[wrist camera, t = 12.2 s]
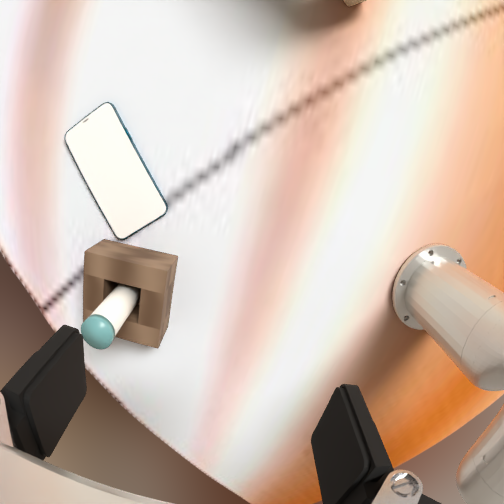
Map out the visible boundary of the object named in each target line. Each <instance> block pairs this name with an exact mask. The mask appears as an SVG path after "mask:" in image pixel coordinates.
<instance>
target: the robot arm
mask: <svg viewBox="0 0 504 504" xmlns="http://www.w3.org/2000/svg"><path fill="white" fill-rule="evenodd" d="M392 301H393V307H394V310H395V313H396V314H397V316H398V317H399V319H400V320H401V321H402V322H403V323H404V324H405V325H407V326H408V327H410V328H413V329H418V330H425V331H426V332H427V333H428V334H429V335H430V336H431V337H432V338H433V339H434V341H435V342H436V343H437V344H438V345H439V346H440V347H441V348H442V350H443V351H444V352H445V353H446V354H447V355H448V356H449V358H450V359H451V360H452V361H453V362H454V363H455V364H456V366H457V367H458V368H459V369H460V370H461V371H462V373H463V374H464V375H465V376H466V377H467V378H468V379H469V381H470V382H471V383H473V384H474V385H475V386H477V387H478V388H480V389H483V390H488V391H500V390H504V292H502V291H500V290H499V289H497V288H496V287H494V286H493V285H491V284H490V283H488V282H486V281H485V280H483V279H482V278H480V277H478V276H477V275H475V274H473V273H472V272H470V271H469V270H467V268H466V264H465V262H464V259H463V258H462V256H461V255H460V253H459V252H457V251H456V250H455V249H453V248H451V247H450V246H447V245H444V244H432V245H428V246H425V247H423V248H421V249H419V250H418V251H416V252H415V253H413V254H412V255H411V256H410V257H409V258H408V259H407V260H406V262H405V263H404V264H403V265H402V267H401V269H400V271H399V272H398V274H397V277H396V279H395V282H394V286H393V293H392ZM86 388H87V387H86V377H85V364H84V349H83V336H82V334H79V330H78V329H76V328H73V327H70V326H67V325H63V326H62V327H61V328H60V329H59V330H58V331H57V332H56V333H55V334H54V335H53V336H52V337H51V338H50V339H49V340H48V341H47V342H46V343H45V344H44V345H43V346H42V348H41V349H40V350H39V351H37V352H36V353H34V354H33V355H32V356H31V358H30V359H29V360H28V361H27V362H26V363H25V364H24V365H23V366H22V367H21V368H20V369H19V370H18V372H17V373H16V374H15V375H14V376H13V377H12V378H11V380H10V381H9V382H8V383H7V384H6V385H5V386H4V387H3V389H2V390H1V391H0V504H173V503H168V502H164V501H160V500H155V499H151V498H147V497H144V496H140V495H136V494H133V493H129V492H126V491H122V490H119V489H115V488H112V487H109V486H107V485H104V484H101V483H98V482H95V481H92V480H90V479H87V478H84V477H82V476H79V475H76V474H74V473H71V472H69V471H66V470H64V469H61V468H59V467H57V466H54V465H52V464H50V463H47V462H45V461H43V460H44V459H45V457H46V456H47V457H50V455H51V454H52V452H53V451H54V449H55V447H56V445H57V443H58V441H59V440H60V438H61V436H62V434H63V433H64V431H65V429H66V427H67V426H68V424H69V422H70V420H71V419H72V417H73V415H74V413H75V412H76V410H77V409H78V407H79V405H80V403H81V402H82V400H83V399H84V397H85V394H86ZM311 444H312V449H313V454H314V459H315V464H316V469H317V474H318V480H319V485H320V490H321V495H322V501H323V504H441V503H439V502H437V501H435V500H433V499H431V498H429V497H427V496H425V495H423V494H422V489H423V487H422V483H421V481H420V479H419V478H418V477H417V476H416V475H415V474H413V473H412V472H410V471H407V470H395V471H394V469H393V467H392V464H391V462H390V459H389V457H388V454H387V452H386V449H385V447H384V445H383V442H382V440H381V437H380V435H379V433H378V430H377V428H376V425H375V423H374V422H373V420H372V418H371V415H370V413H369V410H368V408H367V406H366V403H365V401H364V399H363V396H362V394H361V392H360V390H359V387H358V386H357V385H347V384H342V385H341V386H340V388H339V387H338V388H336V389H335V391H334V393H333V395H332V397H331V399H330V401H329V403H328V405H327V407H326V409H325V411H324V413H323V415H322V417H321V419H320V421H319V423H318V425H317V427H316V428H315V430H314V432H313V434H312V438H311ZM456 483H457V487H458V490H459V492H460V495H461V496H462V498H463V499H464V500H465V502H466V503H467V504H504V404H503V406H502V408H501V409H500V411H499V412H498V414H497V415H496V416H495V418H494V419H493V420H492V422H491V423H490V424H489V426H488V427H487V428H486V430H485V431H484V432H483V433H482V435H481V436H480V437H479V438H478V439H477V441H476V442H475V443H474V445H473V446H472V447H471V448H470V449H469V451H468V452H467V453H466V455H465V456H464V457H463V459H462V461H461V462H460V464H459V467H458V470H457V474H456Z"/></svg>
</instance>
